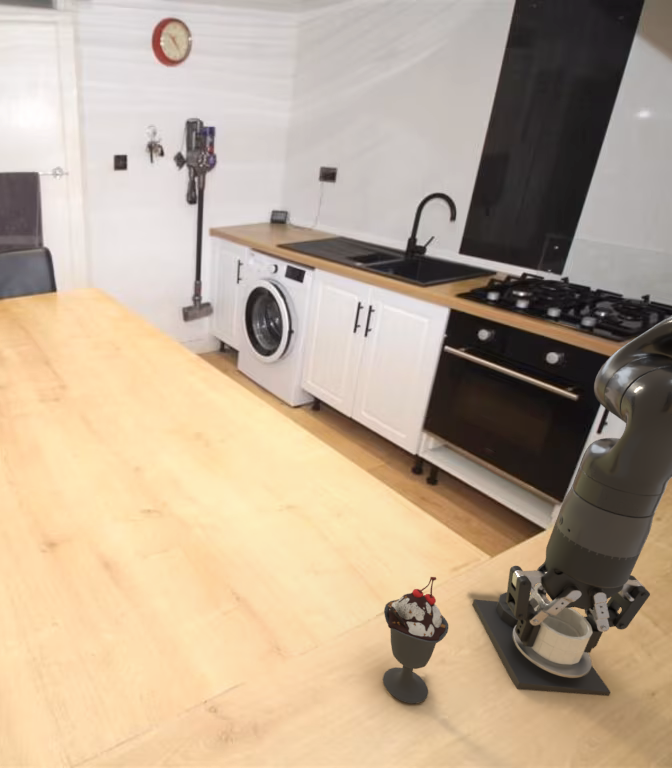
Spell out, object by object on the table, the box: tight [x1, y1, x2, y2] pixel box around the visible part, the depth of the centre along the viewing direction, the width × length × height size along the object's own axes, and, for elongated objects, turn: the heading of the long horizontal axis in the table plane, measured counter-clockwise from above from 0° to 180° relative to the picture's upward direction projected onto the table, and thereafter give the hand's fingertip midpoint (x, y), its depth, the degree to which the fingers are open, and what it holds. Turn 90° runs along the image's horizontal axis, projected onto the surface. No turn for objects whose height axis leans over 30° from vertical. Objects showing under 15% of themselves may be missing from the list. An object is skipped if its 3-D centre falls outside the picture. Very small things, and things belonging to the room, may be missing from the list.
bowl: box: [531, 600, 593, 665], centre depth 65 cm, size 6×6×4 cm
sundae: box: [382, 576, 449, 704], centre depth 62 cm, size 7×7×15 cm
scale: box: [472, 591, 611, 697], centre depth 69 cm, size 10×13×3 cm
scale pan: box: [512, 626, 593, 678], centre depth 66 cm, size 8×8×1 cm
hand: (552, 643), depth 66 cm, fingers closed on bowl, 6 cm apart
